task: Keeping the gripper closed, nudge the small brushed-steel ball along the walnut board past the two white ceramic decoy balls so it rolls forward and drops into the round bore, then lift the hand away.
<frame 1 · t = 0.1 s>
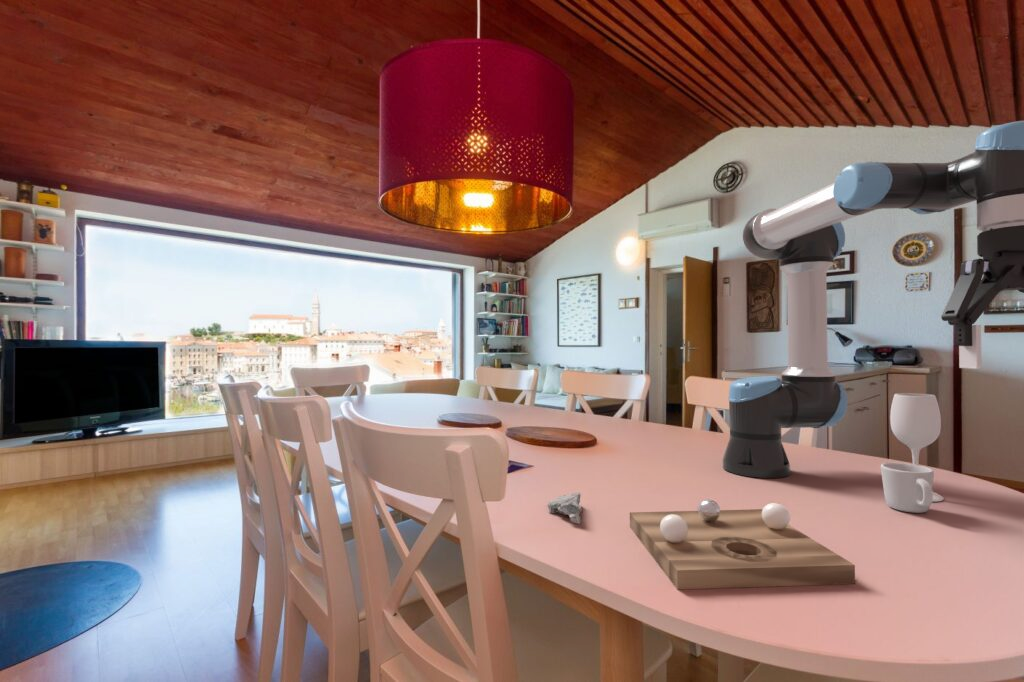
hand: (1013, 367, 74), 28 cm above the table, fingers open, 13 cm apart
decoy b: (673, 528, 73), point 4 cm above the table, touching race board
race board: (726, 551, 75), on the table
wineglass: (916, 496, 102), on the table
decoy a: (775, 516, 78), point 4 cm above the table, touching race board
steel ball: (709, 510, 81), point 4 cm above the table, touching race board
stone: (566, 515, 94), on the table
cup: (911, 512, 92), on the table
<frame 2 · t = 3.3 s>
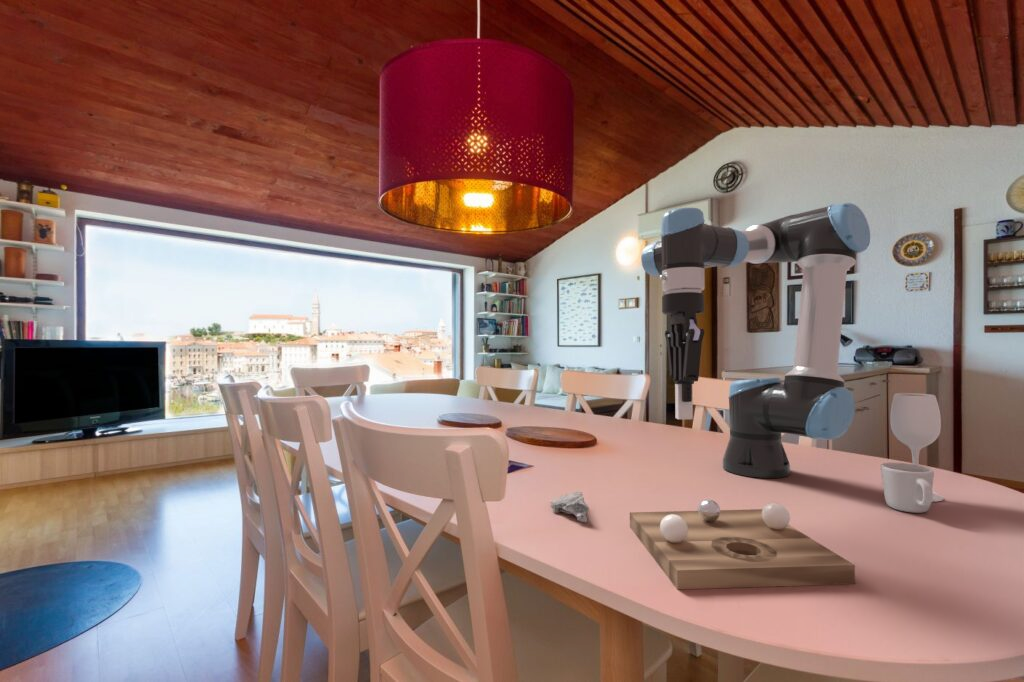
hand: (684, 418, 92), 18 cm above the table, fingers closed
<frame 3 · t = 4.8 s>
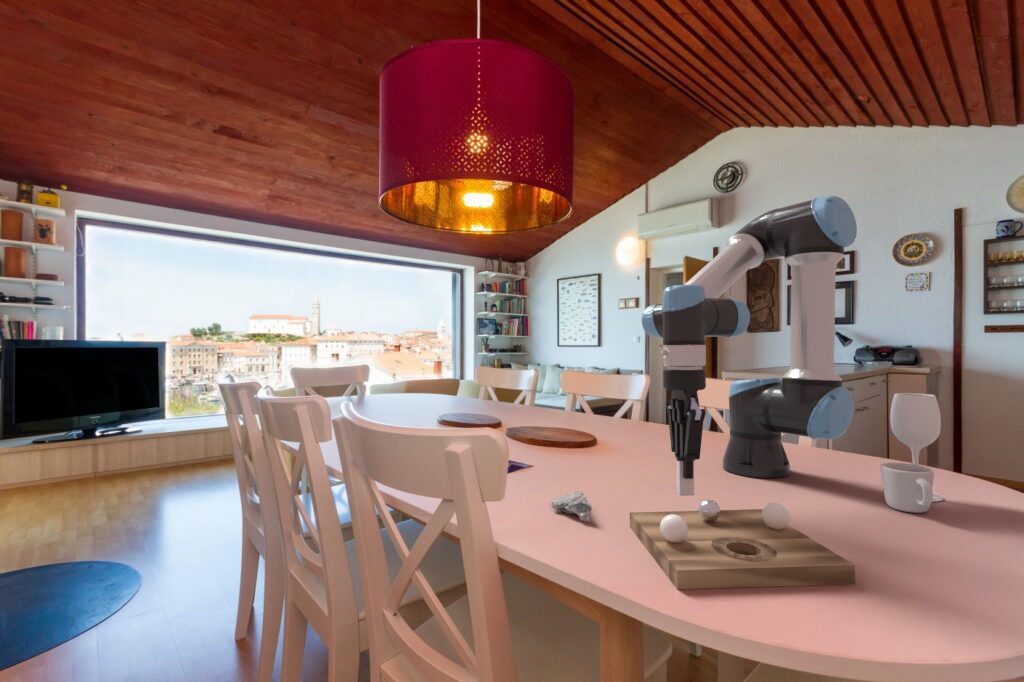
hand: (685, 494, 91), 4 cm above the table, fingers closed
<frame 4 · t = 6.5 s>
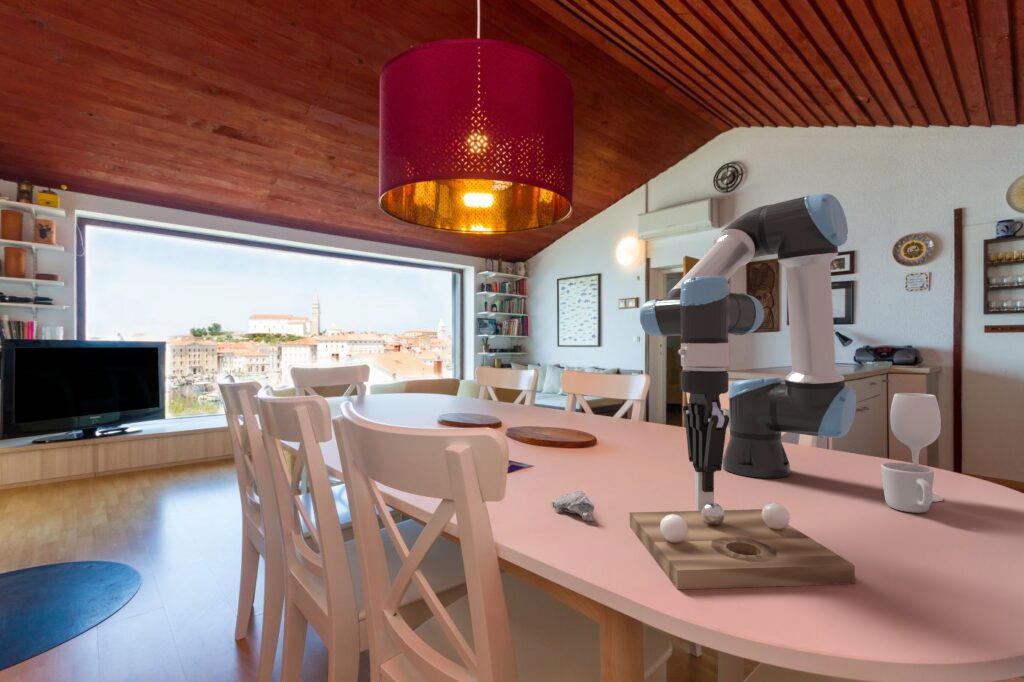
hand: (704, 508, 82), 4 cm above the table, fingers closed
steel ball: (712, 513, 80), point 4 cm above the table, tilted 48°, touching gripper, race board
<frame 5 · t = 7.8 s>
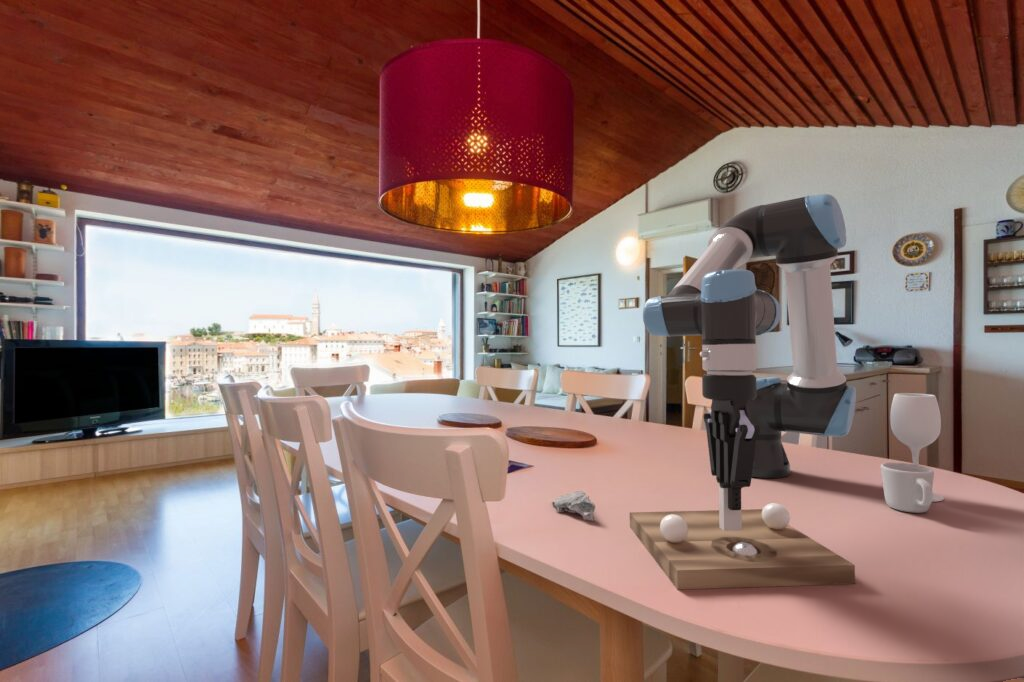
hand: (730, 528, 74), 4 cm above the table, fingers closed
steel ball: (745, 555, 70), point 2 cm above the table, tilted 65°
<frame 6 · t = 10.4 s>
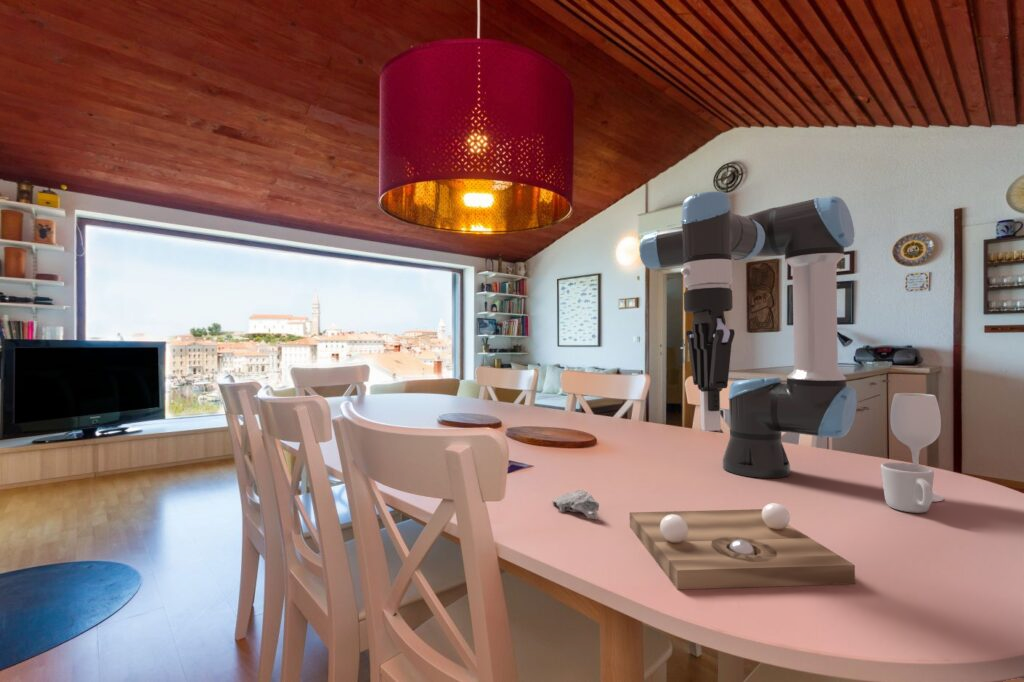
hand: (710, 429, 81), 18 cm above the table, fingers closed
steel ball: (741, 552, 71), point 2 cm above the table, tilted 34°
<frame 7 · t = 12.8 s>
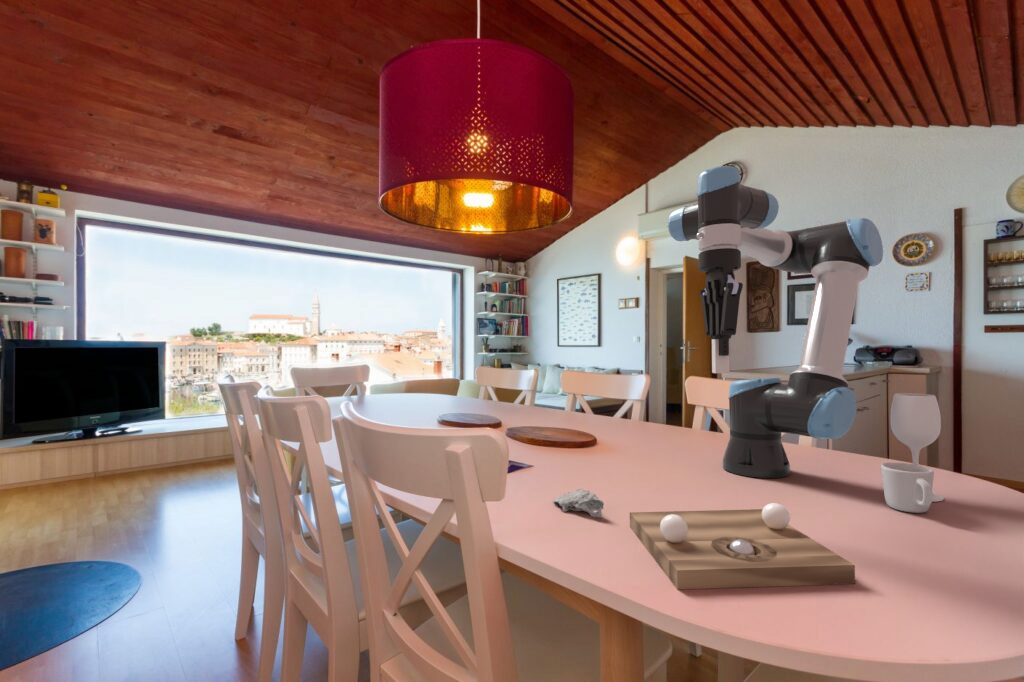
hand: (720, 372, 94), 26 cm above the table, fingers closed
at the end: steel ball 0.5 cm from the target spot on the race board, point 1.7 cm above the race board's base; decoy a moved 0.1 cm from its start; decoy b moved 0.1 cm from its start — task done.
